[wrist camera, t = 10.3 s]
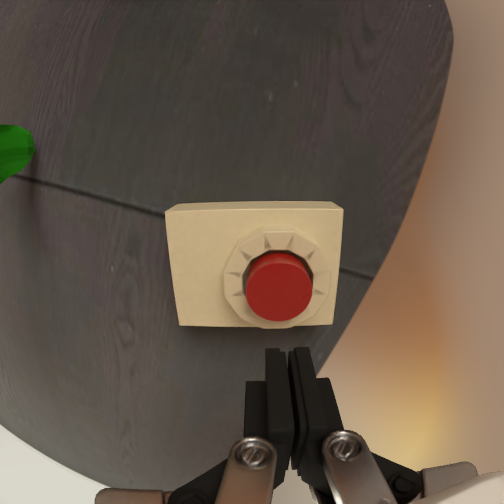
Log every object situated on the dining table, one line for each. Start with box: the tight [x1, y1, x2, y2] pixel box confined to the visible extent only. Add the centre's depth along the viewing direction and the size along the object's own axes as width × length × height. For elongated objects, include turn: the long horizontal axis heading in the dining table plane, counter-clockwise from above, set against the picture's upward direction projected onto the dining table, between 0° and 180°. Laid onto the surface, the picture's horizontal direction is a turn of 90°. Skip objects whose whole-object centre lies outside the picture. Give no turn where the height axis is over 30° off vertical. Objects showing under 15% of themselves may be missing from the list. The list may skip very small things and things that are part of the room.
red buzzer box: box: [165, 201, 343, 329], centre depth 20 cm, size 12×9×5 cm
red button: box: [246, 253, 312, 322], centre depth 18 cm, size 4×4×2 cm
